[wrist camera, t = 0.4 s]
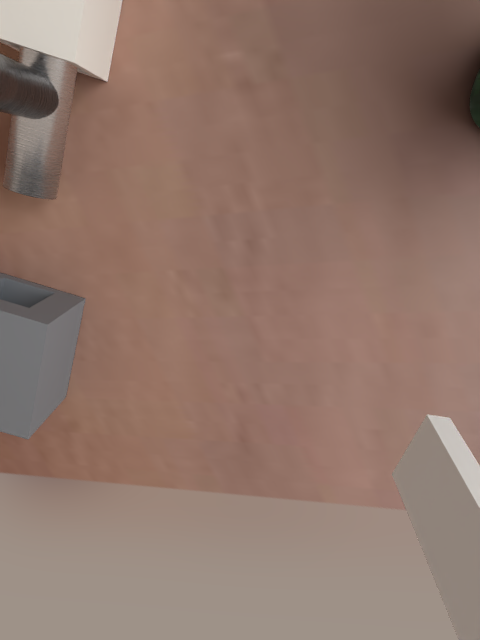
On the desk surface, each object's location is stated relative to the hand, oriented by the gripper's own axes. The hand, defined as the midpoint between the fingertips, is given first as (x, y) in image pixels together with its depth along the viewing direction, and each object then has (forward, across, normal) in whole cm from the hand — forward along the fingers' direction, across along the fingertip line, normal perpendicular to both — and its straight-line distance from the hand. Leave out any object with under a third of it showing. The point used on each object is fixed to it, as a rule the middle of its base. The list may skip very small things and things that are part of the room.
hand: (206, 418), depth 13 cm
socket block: (+24, -14, -16) cm, 32 cm away
